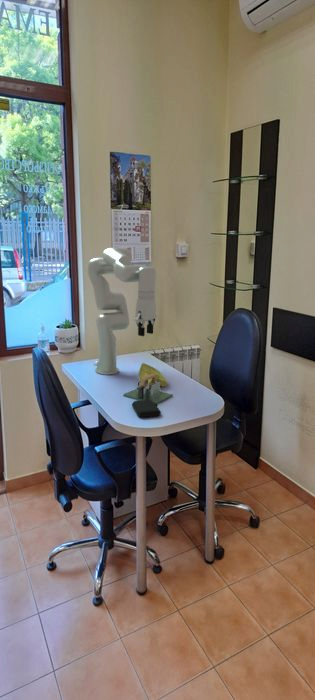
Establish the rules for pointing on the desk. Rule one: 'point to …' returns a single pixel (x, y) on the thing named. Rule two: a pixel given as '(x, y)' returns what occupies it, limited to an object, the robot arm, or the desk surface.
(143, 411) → the carrying case or bag
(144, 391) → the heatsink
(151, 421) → the desk surface
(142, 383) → the tan rectangular block
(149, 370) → the plastic component
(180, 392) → the desk surface
